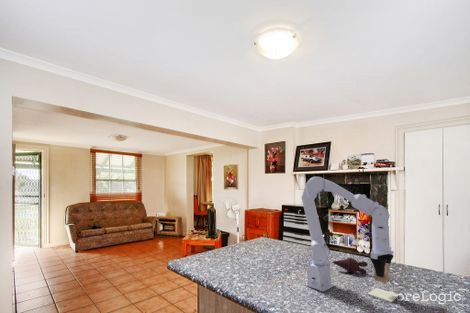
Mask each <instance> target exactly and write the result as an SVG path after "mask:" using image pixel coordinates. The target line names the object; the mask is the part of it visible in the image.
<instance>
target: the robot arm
mask: <svg viewBox="0 0 470 313" xmlns="http://www.w3.org/2000/svg"><path fill="white" fill-rule="evenodd" d="M322 191H323V192H330V193H331V192H332V193H334V194H336V195H337V196H340V197H341V198H343V199H345V200H346V201H349V202H350V203H351V206H352V208H355V209H356V210H358V211H360V212H362V213H363V214H365V215H367V216H371V218H372V220H371V222H372V223H371V240H372V242H371V243H372V248H371V252H370V255H369V260H370V261H371V263H372V265H373V269H374V268H375V272H376V275H377V276H379V277H383V276H384V269H385V264H386V263H387V264H389V265H390V266H391V263H392V261H393V259H394V251H393V250H392V246H391V244H390V241H391V240H390V226H389V219H390V214H389V211H388V209H387V208H386V207H385V206H383V205H381V204H379V202H378V201H374V200H372V199H370V198H368V197H367V195H366V194H361V193H358V194H353V193H352V192H350V191H349V190H347V189H345V188H344V187H342V186H340V185H338V184H337V183H335V182H333V181H331V180H328V179H325V178H323V177H321V176H312V177H311V178H309V180H307V182H306V183H305V187H304V189H303V192H302V194H301V200H302V206H303V209H304V214H305V218H306V222H307V227H308V230H309V231H308V232H309V235H310V240H311V241H310V242H311V264H310V266H308V268H307V270H306V272H307V274H306V275H307V278H306V279H307V281H306V282H307V283H305V286H307V287H309V288H312V289H315V290H317V291H320V292H326V291H327V290H329V289H331V288H333V287H335V286H336V284H335V283H333V282H332V280H331V279H332V278H331V261H330V260H329V256H330V253H331V252H330V248H329V246H328V245H327V243H326V241H325V238H324V236H323V232H322V228H321V223H320V219H319V215H318V211H317V207H316V203H315V199H316V198H317V196H318V195H319V194H320V193H321V192H322Z"/></svg>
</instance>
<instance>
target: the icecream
mask: <svg viewBox="0 0 470 313" xmlns="http://www.w3.org/2000/svg"><path fill="white" fill-rule="evenodd" d="M332 263H333V264H334V265H336V266H338V267H340V268H341V269H344V270H346V272H347V273H348V274H349V273H351V274H354V273H356V272H359V273H361V274H363V273H364V275H365V274H367V273H368V272H367V270H366V269H365V268H366V267H367V266H368V265H369V264H368V262H367V261H357V260H356V259H355V258H352V257H347V258H346V259H345V258H344V259H340V260H334V261H332ZM362 267H363V268H362Z"/></svg>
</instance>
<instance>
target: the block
mask: <svg viewBox="0 0 470 313" xmlns="http://www.w3.org/2000/svg"><path fill="white" fill-rule="evenodd" d="M390 267H391V264H390V265H389V264H387V263H386V264H385V269H384V276H383V277H379V276H377V275H376V272H375V268H374V267H373V272H374V273H373V275H374V276H373V278H374V280H373V281H377V282H379V283H380V282H381V283H384V284H388V283H389V282H390V281H391V268H390Z"/></svg>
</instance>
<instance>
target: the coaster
mask: <svg viewBox="0 0 470 313" xmlns="http://www.w3.org/2000/svg"><path fill="white" fill-rule="evenodd" d="M368 295H370V296H369V297H371V296H373V297H372V298H374V297H375V298H376V299H377V298H378V300H380V301H381V300H382V301H384V302H387V301H388V302H387V303H390V302H391V303H390V304H392V303H393V302H395V301H396V300H397V299H398V298H399V297H400V294H399V293H395V292H391V291H388V290H385V289H381V288H378V287H376V288H373V289H371V290H370V291H369V292H367V296H368ZM398 296H399V297H398ZM397 297H398V298H397ZM396 298H397V299H396ZM395 299H396V300H395Z"/></svg>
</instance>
